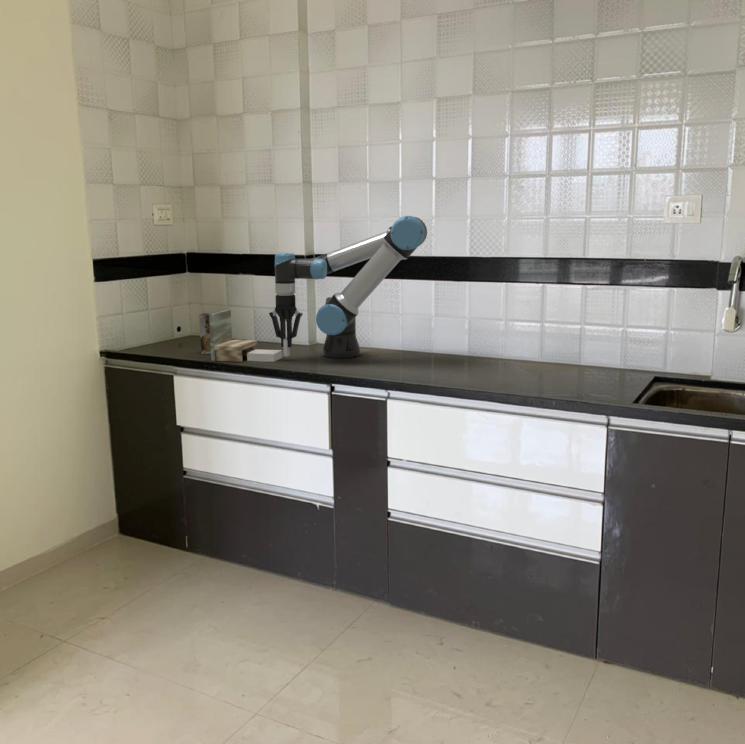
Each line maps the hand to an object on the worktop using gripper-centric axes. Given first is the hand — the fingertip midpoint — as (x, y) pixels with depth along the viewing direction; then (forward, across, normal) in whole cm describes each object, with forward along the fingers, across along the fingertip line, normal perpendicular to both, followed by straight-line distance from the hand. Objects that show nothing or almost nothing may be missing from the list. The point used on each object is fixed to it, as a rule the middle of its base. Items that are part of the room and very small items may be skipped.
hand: (286, 355), depth 284 cm
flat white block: (+2, +9, 0) cm, 9 cm away
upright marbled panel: (+2, +22, 0) cm, 22 cm away
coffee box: (+2, +36, -10) cm, 37 cm away
